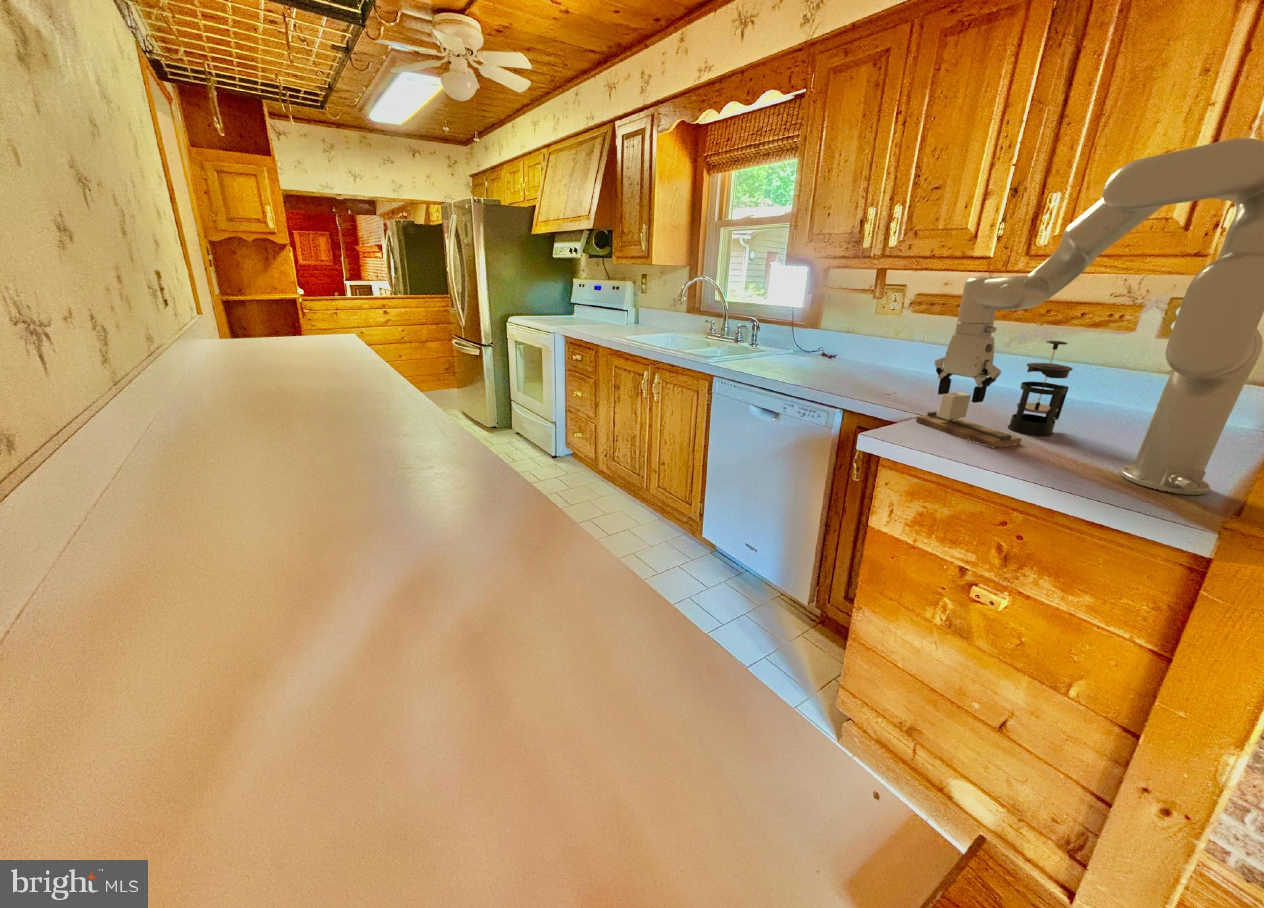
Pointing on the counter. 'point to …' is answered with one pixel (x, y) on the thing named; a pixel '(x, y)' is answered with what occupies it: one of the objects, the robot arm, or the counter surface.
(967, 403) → the fader cap
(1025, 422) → the french press
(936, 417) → the fader board
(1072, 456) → the counter surface
